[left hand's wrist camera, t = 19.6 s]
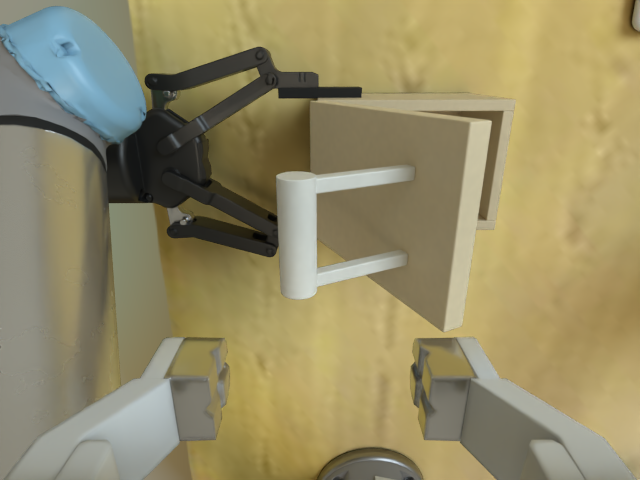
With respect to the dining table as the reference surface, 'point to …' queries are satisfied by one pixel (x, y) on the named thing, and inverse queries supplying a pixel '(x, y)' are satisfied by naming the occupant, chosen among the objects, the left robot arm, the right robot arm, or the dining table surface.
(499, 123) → the chest
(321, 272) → the lid
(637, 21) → the smartphone
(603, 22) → the dining table surface
